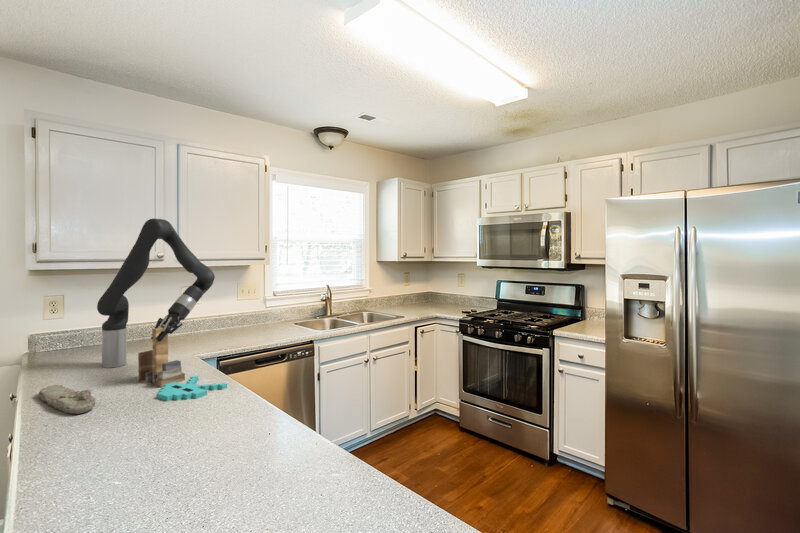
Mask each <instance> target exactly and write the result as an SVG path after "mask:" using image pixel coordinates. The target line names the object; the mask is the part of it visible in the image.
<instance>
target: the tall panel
mask: <svg viewBox="0 0 800 533" xmlns="http://www.w3.org/2000/svg"><path fill="white" fill-rule="evenodd" d="M164 328H165V327H161V328H155V327H154V328H152V333H151V334H152V335H151V337H152V339H151V340H152V342H151V343H152V344H151V345H152V350H153V374H157V371H160V370H162V363H166V362H169V334H167V335H166V336H165V337H164V338H163V339H162V340H161V341H160V342H159V341H157V340H156V338H157V336H158V335H159V334H160V333H161V332H163V331H162V330H163V329H164Z"/></svg>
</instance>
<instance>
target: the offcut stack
mask: <svg viewBox="0 0 800 533" xmlns="http://www.w3.org/2000/svg"><path fill="white" fill-rule="evenodd" d="M181 365H182V361H181V360H178V359H177V360H175V359H174V360H172V361H168V362H166V363H162V370H160V371H157V378H156V385H155V386H156V387H158V388H162V387H164V385H165V384H168V383H172V382H178V383H180V382H183V381H186V374H185V372H182V368H183V367H182V366H181Z"/></svg>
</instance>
